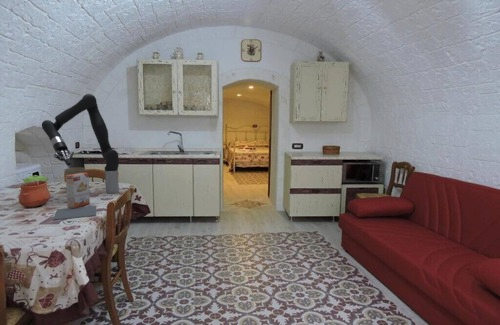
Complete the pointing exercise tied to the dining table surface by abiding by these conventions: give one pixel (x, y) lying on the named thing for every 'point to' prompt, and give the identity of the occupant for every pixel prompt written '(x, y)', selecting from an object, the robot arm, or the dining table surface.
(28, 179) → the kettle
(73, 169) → the plant pot
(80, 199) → the cracker box
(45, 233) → the dining table surface
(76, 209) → the rubber mat
